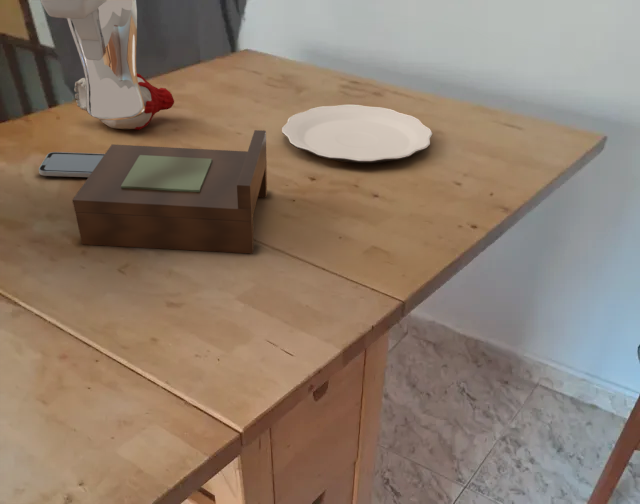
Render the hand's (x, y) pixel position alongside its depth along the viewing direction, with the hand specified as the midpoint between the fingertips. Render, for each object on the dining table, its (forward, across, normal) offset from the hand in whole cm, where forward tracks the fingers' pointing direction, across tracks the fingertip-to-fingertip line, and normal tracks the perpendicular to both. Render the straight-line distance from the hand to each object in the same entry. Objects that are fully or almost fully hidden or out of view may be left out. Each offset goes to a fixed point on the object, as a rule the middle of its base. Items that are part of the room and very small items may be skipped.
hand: (106, 47), depth 70 cm
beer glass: (+6, 0, 0) cm, 6 cm away
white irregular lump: (+24, -44, -12) cm, 52 cm away
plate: (+24, -43, +26) cm, 56 cm away
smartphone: (+24, -25, -13) cm, 37 cm away
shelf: (+24, -11, +3) cm, 27 cm away
